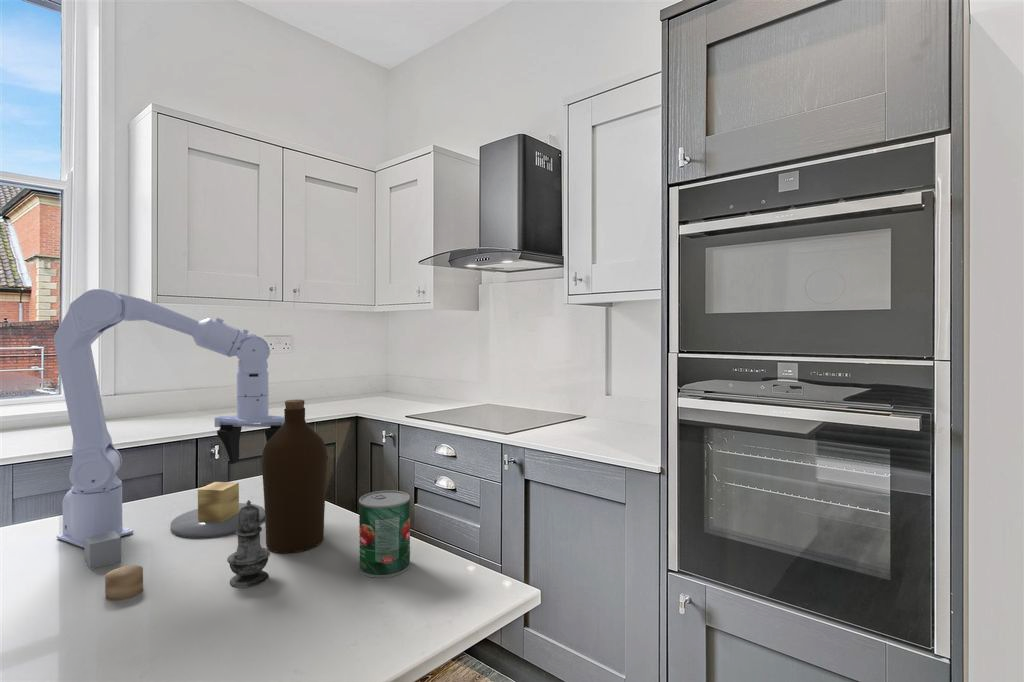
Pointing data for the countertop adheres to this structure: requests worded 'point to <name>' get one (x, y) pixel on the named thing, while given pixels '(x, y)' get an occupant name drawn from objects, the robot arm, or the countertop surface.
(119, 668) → the countertop surface
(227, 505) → the ochre block
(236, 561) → the salt shaker
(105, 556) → the slate grey block
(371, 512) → the canned tomato
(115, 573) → the oak cylinder
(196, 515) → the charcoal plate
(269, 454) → the olive oil
